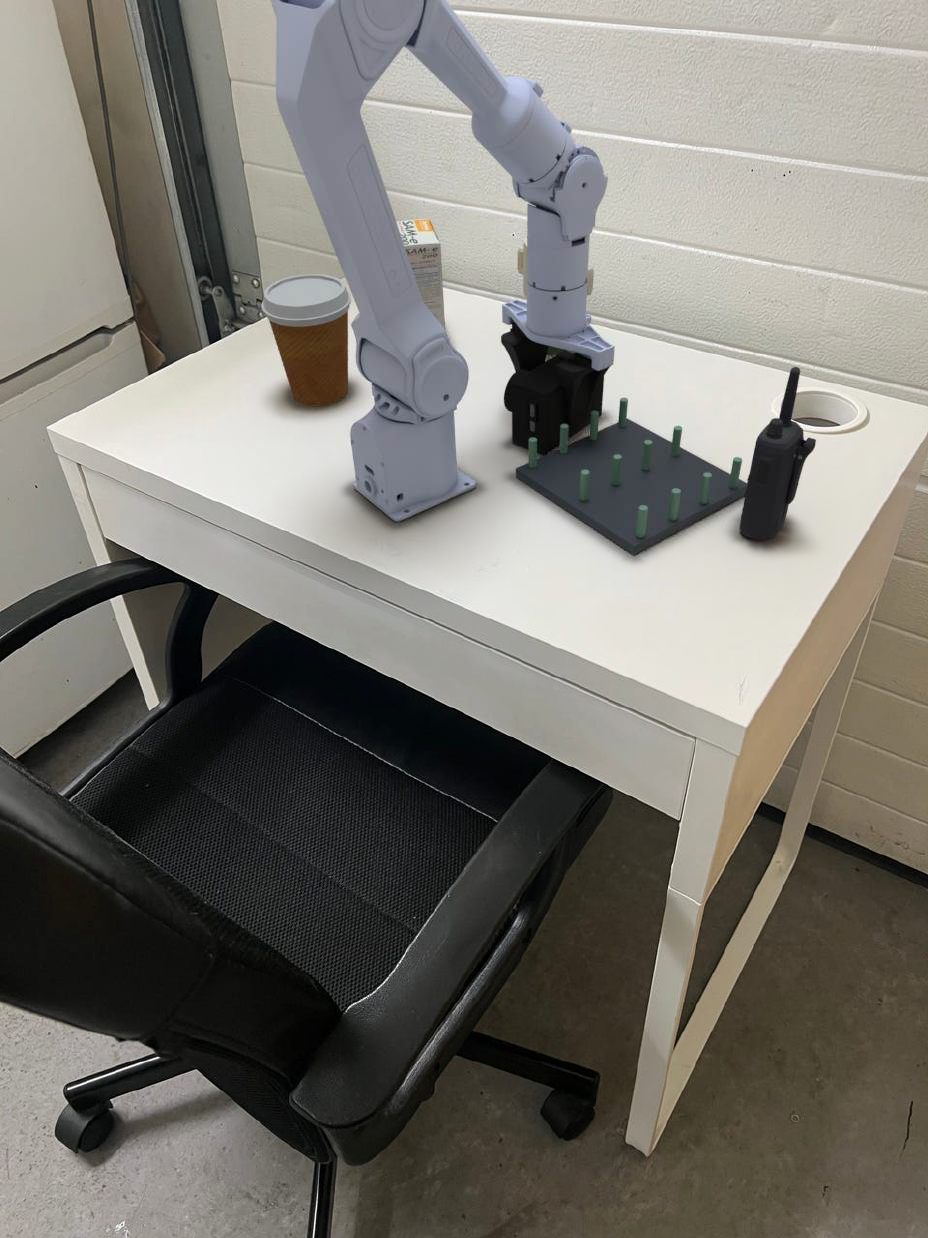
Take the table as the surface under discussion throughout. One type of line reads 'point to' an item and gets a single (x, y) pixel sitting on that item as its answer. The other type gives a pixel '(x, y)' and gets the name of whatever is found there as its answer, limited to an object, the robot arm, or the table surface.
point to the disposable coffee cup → (311, 335)
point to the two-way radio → (775, 469)
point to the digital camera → (543, 405)
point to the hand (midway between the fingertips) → (553, 408)
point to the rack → (631, 481)
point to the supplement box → (425, 262)
